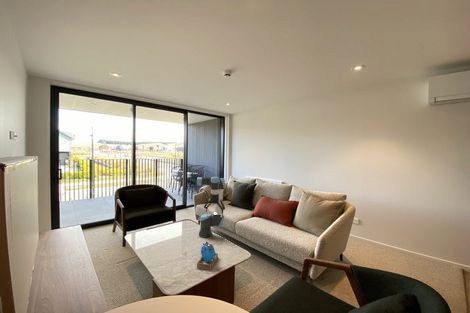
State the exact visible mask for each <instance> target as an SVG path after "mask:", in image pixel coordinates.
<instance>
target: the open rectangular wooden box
mask: <svg viewBox="0 0 470 313" xmlns="http://www.w3.org/2000/svg"><path fill="white" fill-rule="evenodd" d="M218 255H219V253H217V252H215V258H214V259H213V260H211V261H209V262H206V261H204V260H203V258H202V256H201V257H200V258H199V259H198V261H197V262H196V268H197V269H200V270H208V271H211V270H212V269H213V267H214V265H215V263H216V262H217V260H218V258H219V256H218Z"/></svg>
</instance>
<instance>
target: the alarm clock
mask: <svg viewBox="0 0 470 313" xmlns="http://www.w3.org/2000/svg"><path fill="white" fill-rule="evenodd" d="M200 248H201V249H200V254H201V257H202V258H203V260H204V261H206V262H209V261H211V260H213V259H214V258H215V253H216V249H215V248H214V245H213V244H211V243H209V241H204V242H203V243H202V246H201V247H200Z"/></svg>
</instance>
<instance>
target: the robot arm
mask: <svg viewBox="0 0 470 313" xmlns="http://www.w3.org/2000/svg"><path fill="white" fill-rule="evenodd" d="M196 185H197V186H205V188H210V197H208V198H206V202H205V204H204V206H203V208H204V209H205V213H204V214H202V215H201V216H200V220H199V221H200V229H199V232H198V237H200V238H204V239H205V238H211V237H212V236H213V230H212V228H211V227H223V226H224V222H225V218H226V217H225V215H224V211H225V210H226V206H225V205H224V201H223V196H224V195H223V194H224V191H225V189H226V180H225V178H222V177H219V176H211V177H206V176H205V177H200V176H199V177H197V179H196ZM212 204H213V205H214V212H213V213H212V214H211V213H209V207H210V206H211V205H212Z"/></svg>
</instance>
